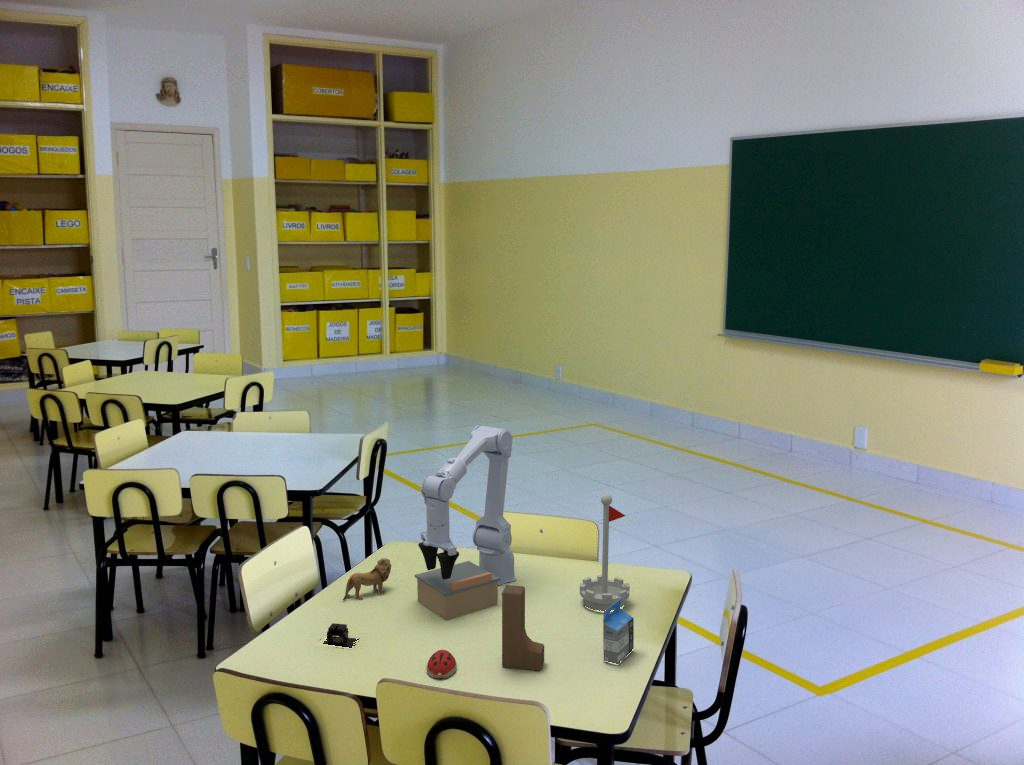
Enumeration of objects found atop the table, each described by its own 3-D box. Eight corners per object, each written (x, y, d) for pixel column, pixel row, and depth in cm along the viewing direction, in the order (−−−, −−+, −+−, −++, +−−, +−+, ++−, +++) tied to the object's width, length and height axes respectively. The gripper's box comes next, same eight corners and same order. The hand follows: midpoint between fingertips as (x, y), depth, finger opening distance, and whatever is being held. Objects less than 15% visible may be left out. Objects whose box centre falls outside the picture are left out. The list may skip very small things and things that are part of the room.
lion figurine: (385, 585, 246) (385, 554, 245) (396, 591, 242) (395, 559, 241) (338, 599, 237) (337, 566, 236) (348, 605, 233) (347, 572, 231)
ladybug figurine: (457, 659, 204) (456, 645, 204) (456, 681, 195) (456, 666, 194) (427, 660, 204) (427, 645, 203) (425, 682, 194) (425, 666, 194)
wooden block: (544, 662, 203) (545, 587, 200) (541, 671, 198) (541, 595, 195) (505, 658, 205) (505, 584, 202) (501, 667, 200) (501, 591, 197)
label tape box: (617, 666, 201) (619, 615, 199) (601, 662, 203) (602, 611, 201) (634, 651, 208) (635, 601, 206) (618, 647, 210) (619, 597, 208)
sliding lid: (468, 562, 244) (468, 554, 244) (500, 580, 232) (500, 571, 232) (414, 577, 234) (414, 568, 234) (444, 595, 222) (444, 586, 222)
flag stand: (572, 609, 231) (574, 498, 225) (587, 591, 243) (589, 484, 237) (621, 618, 226) (624, 504, 221) (634, 598, 238) (637, 490, 233)
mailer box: (468, 587, 245) (468, 564, 244) (497, 604, 234) (497, 581, 232) (417, 601, 235) (417, 578, 234) (445, 620, 224) (445, 595, 223)
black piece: (307, 648, 210) (306, 630, 209) (319, 635, 217) (318, 617, 216) (357, 653, 208) (357, 634, 207) (368, 639, 215) (367, 621, 214)
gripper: (410, 518, 229) (411, 568, 231) (439, 533, 217) (439, 586, 220) (434, 513, 233) (434, 562, 235) (463, 528, 221) (464, 580, 224)
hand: (438, 573), depth 228 cm, fingers open, 7 cm apart
